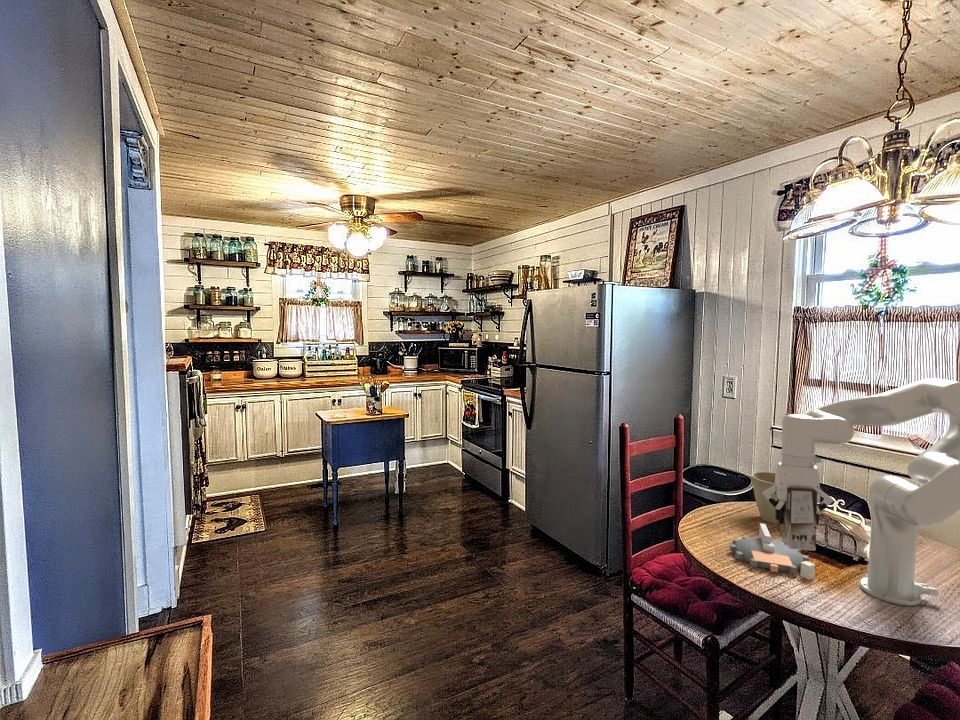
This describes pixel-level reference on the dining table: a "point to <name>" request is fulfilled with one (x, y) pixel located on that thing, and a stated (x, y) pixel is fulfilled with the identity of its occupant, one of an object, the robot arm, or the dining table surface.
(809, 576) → the wheel stand
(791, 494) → the coffee box
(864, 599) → the dining table surface
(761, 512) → the plant pot
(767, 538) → the index wheel
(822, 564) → the dining table surface
